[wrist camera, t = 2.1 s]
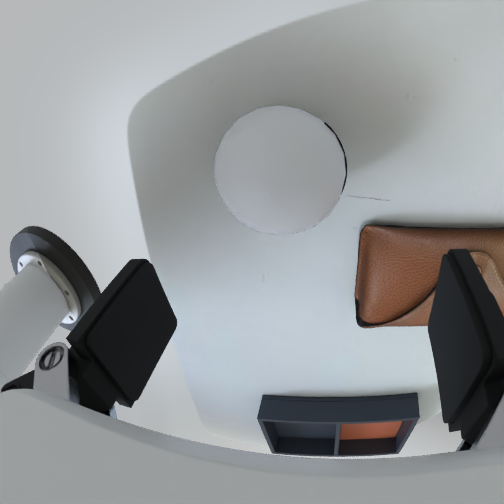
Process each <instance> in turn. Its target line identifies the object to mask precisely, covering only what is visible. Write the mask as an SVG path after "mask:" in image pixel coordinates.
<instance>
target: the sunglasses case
mask: <svg viewBox="0 0 504 504" xmlns="http://www.w3.org/2000/svg"><path fill="white" fill-rule="evenodd" d="M463 248H466V249H467V250H468V251H469V253H470V254H471V256H472V258H473V260H474V261H475V263H476V265H477V267H478V269H479V271H480V273H481V274H482V276H483V278H484V280H485V282H486V284H487V286H488V288H489V290H490V292H492V293H493V295H494V297H495V299H496V301H497V303H498V305H499V307H500V309H501V311H502V314H503V316H504V228H433V227H406V226H393V225H365V227H364V228H363V229H362V230H361V233H360V239H359V250H358V265H357V275H356V286H355V305H356V320H357V324H358V325H359V326H360V327H362V328H375V327H383V326H428V320H429V316H430V312H431V308H432V304H433V299H434V295H435V291H436V286H437V281H438V276H439V271H440V266H441V260H442V256H443V255H444V254H447V253H448V250H449V249H463Z"/></svg>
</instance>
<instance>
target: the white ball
mask: <svg viewBox="0 0 504 504" xmlns="http://www.w3.org/2000/svg"><path fill="white" fill-rule="evenodd" d="M346 177H347V161H346V156H345V152H344V149H343V146H342V144H341V142H340V140H339V138H338V137H337V135H336V134H335V132H334V131H333V130H332V128H331V127H330V126H329V125H328V124H327V123H326V122H325V123H323V122H322V121H321V120H320V119H319V118H317V117H315V116H313V115H311V114H309V113H307V112H305V111H303V110H302V109H298V108H293V107H287V106H280V105H276V106H270V107H264V108H258V109H255V110H254V111H252V112H250V113H248V114H246V115H244V116H242V117H240V118H239V119H238V120H237V121H236V122H235V123H234V124H233V125H232V126H231V128H230V129H229V130H228V131H227V132H226V133H225V135H224V137H223V138H222V141H221V143H220V145H219V148H218V150H217V153H216V155H215V163H214V178H215V182H216V185H217V189H218V193H219V195H220V197H221V198H222V200H223V202H224V203H225V205H226V206H227V208H228V210H229V211H230V213H231V214H233V215H234V216H235V217H236V218H237V219H238V220H239V221H240V222H241V223H243V224H244V225H246V226H248V227H250V228H252V229H254V230H256V231H258V232H263V233H267V234H272V235H284V234H294V233H298V232H300V231H303V230H306V229H308V228H311V227H314V226H315V225H317V224H318V223H319V222H320V221H322V220H323V219H324V218H326V217H327V216H328V215H329V214H330V213H331V211H332V210H333V208H334V207H335V205H336V203H337V202H338V200H339V199H340V196H341V194H342V191H343V189H344V186H345V182H346ZM350 197H354V196H350ZM357 198H365V197H357ZM370 199H374V198H370ZM377 200H381V199H377ZM388 201H389V200H388Z"/></svg>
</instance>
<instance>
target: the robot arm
mask: <svg viewBox="0 0 504 504" xmlns="http://www.w3.org/2000/svg"><path fill="white" fill-rule="evenodd" d="M80 313H81V306H80V301H79V298H78V296H77V293H76V292H75V290H74V288H73V286H72V285H71V283H70V281H69V280H68V279H67V277H66V276H65V275H64V273H63V272H62V271H61V270H60V269H59V268H58V267H57V266H56V265H55V264H54V263H53V262H52V261H51V260H49V259H48V258H46V257H45V256H43V255H41V254H40V253H37V252H34V251H28V252H25V253H24V254H23V255H22V256H20V258H19V260H18V274H17V275H16V276H15V277H14V278H13V279H12V280H11V281H10V282H9V283H7V284H5V285H4V286H3V289H2V290H1V291H0V504H504V316H503V314H502V311H501V309H500V307H499V305H498V303H497V301H496V299H495V297H494V295H493V293H492V292H490V290H489V288H488V286H487V284H486V282H485V280H484V278H483V276H482V274H481V273H480V271H479V269H478V267H477V265H476V263H475V261H474V260H473V258H472V256H471V254H470V253H469V251H468V250H467V249H466V248H463V249H449V250H448V253H447V254H444V255H443V256H442V260H441V266H440V271H439V276H438V281H437V286H436V291H435V295H434V299H433V304H432V308H431V312H430V316H429V320H428V333H429V337H430V342H431V347H432V352H433V357H434V362H435V368H436V373H437V379H438V386H439V393H440V400H441V408H442V416H443V421H444V423H448V425H449V432H453V431H459V430H461V436H462V439H463V441H462V443H461V444H460V446H459V447H458V449H457V450H456V451H455V452H448V453H440V454H431V455H423V456H412V457H399V458H378V459H321V458H304V457H291V456H280V455H271V454H262V453H255V452H249V451H242V450H236V449H230V448H224V447H219V446H213V445H209V444H204V443H200V442H195V441H190V440H186V439H182V438H178V437H174V436H171V435H167V434H163V433H159V432H156V431H153V430H149V429H146V428H142V427H139V426H136V425H133V424H130V423H127V422H124V421H121V420H118V419H117V416H116V411H115V406H114V403H115V401H117V402H118V403H119V404H120V405H123V406H126V407H130V408H131V407H132V405H133V404H134V402H135V401H136V400H138V398H139V397H140V395H141V393H142V391H143V389H144V387H145V386H146V384H147V382H148V380H149V378H150V376H151V374H152V372H153V370H154V368H155V367H156V364H157V363H158V361H159V359H160V357H161V355H162V354H163V352H164V350H165V348H166V346H167V344H168V342H169V340H170V339H171V337H172V335H173V333H174V331H175V329H176V327H177V319H176V317H175V315H174V312H173V310H172V308H171V306H170V304H169V301H168V299H167V297H166V295H165V292H164V290H163V288H162V285H161V283H160V281H159V278H158V276H157V274H156V271H155V269H154V266H153V265H152V264H151V263H149V261H148V260H147V259H132V260H130V261H129V262H128V263H127V264H126V265H125V266H124V268H123V269H122V270H121V271H120V272H119V273H118V275H117V276H116V277H115V278H114V279H113V280H112V282H111V283H110V284H109V285H108V287H106V289H105V290H104V291H103V292H102V294H101V295H100V296H99V297H98V298H97V300H96V301H95V302H94V303H93V305H92V306H91V307H90V308H89V309H88V311H87V312H86V313H85V315H84V316H83V317H82V318H81V320H80V321H79V322H78V323H77V325H76V326H75V327H74V329H73V330H72V331H71V332H70V334H69V335H68V336H67V338H66V339H67V340H68V342H69V343H70V344H71V348H70V349H69V348H68V347H67V346H66V344H64V343H62V342H56V343H53V344H51V345H49V346H47V347H46V348H45V349H44V350H43V351H42V352H41V353H40V354H39V356H38V358H37V360H36V363H35V370H33V371H31V372H29V373H27V374H25V375H23V376H21V375H22V374H23V372H24V371H25V370H26V368H27V367H28V365H29V364H30V363H31V361H32V360H33V358H34V357H35V356H36V354H37V353H38V352H39V350H40V349H41V348H42V346H43V345H44V343H45V342H46V341H47V340H48V338H49V337H50V336H51V335H52V333H53V332H54V331H55V329H56V328H57V327H58V325H59V324H60V323H61V322H62V323H66V324H71V323H74V322H75V321H76V320H77V319H78V317H79V316H80Z"/></svg>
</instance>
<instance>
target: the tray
mask: <svg viewBox="0 0 504 504" xmlns="http://www.w3.org/2000/svg"><path fill="white" fill-rule="evenodd" d="M419 418H420V415H419V404H418V395H417V393H412V394H401V395H388V396H371V397H286V396H268V395H263V396H262V400H261V404H260V409H259V413H258V417H257V419H258V422H259V424H260V427H261V429H262V431H263V434H264V436H265V438H266V441H267V443H268V445H269V448H270V450H271V452H272V453H273V454H284V455H299V456H329V457H332V456H334V457H335V456H336V457H339V456H340V457H341V456H342V457H345V456H374V455H389V454H398V453H399V452H400V451H401V449H402V447H403V446H404V444H405V442H406V441H407V439H408V437H409V436H410V434H411V432H412V430H413V429H414V427H415V425H416V423H417V421H418V419H419Z"/></svg>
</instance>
